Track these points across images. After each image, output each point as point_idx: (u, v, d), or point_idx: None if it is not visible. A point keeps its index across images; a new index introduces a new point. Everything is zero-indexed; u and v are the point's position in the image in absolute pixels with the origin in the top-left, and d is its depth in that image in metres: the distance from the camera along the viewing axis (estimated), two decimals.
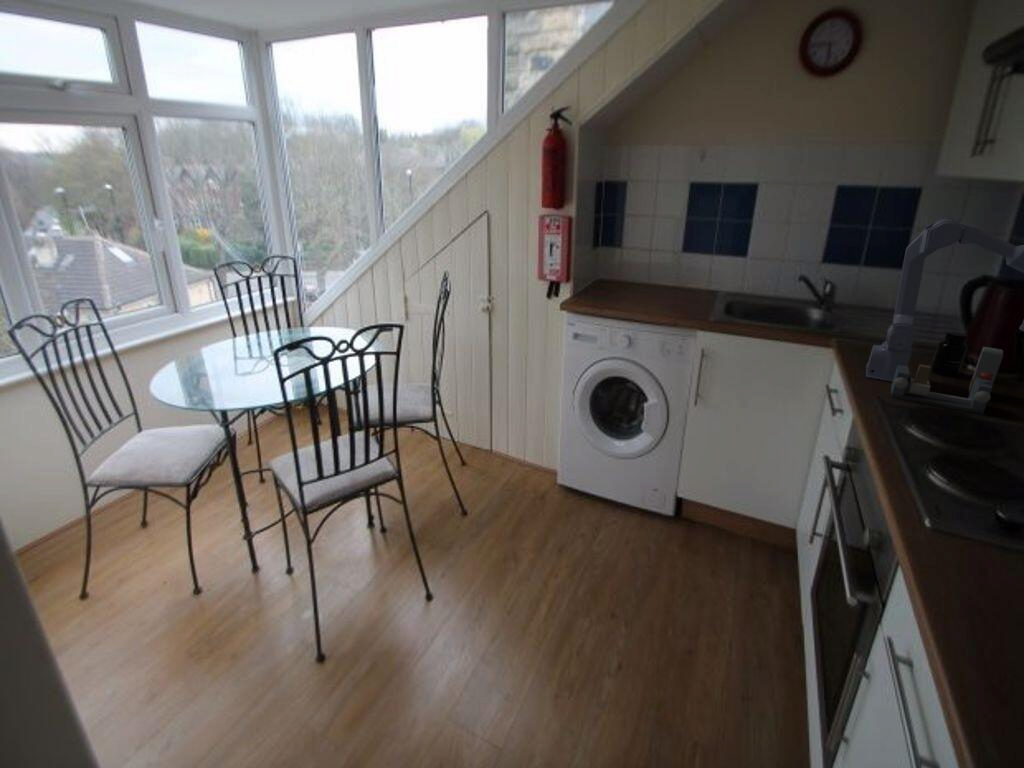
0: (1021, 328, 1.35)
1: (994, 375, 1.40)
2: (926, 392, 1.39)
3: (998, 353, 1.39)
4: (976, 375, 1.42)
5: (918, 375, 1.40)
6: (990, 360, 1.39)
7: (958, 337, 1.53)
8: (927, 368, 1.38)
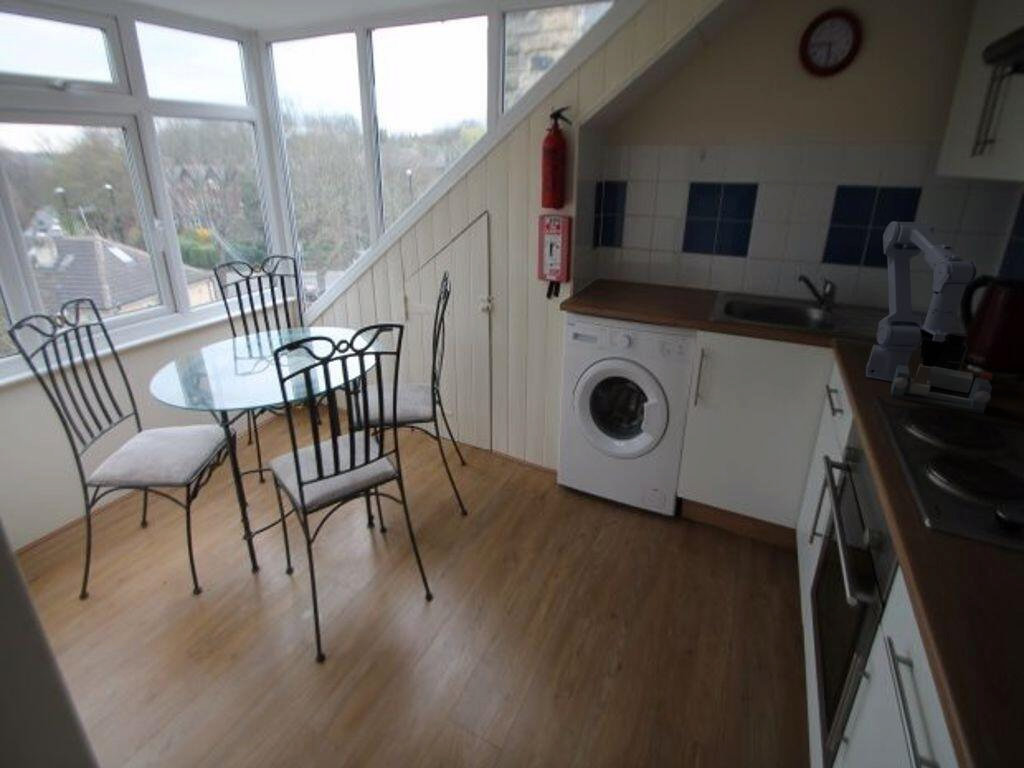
0: (923, 327, 1.36)
1: (943, 375, 1.47)
2: (926, 392, 1.39)
3: None
4: (943, 387, 1.47)
5: (918, 375, 1.40)
6: None
7: (958, 337, 1.53)
8: (927, 368, 1.38)
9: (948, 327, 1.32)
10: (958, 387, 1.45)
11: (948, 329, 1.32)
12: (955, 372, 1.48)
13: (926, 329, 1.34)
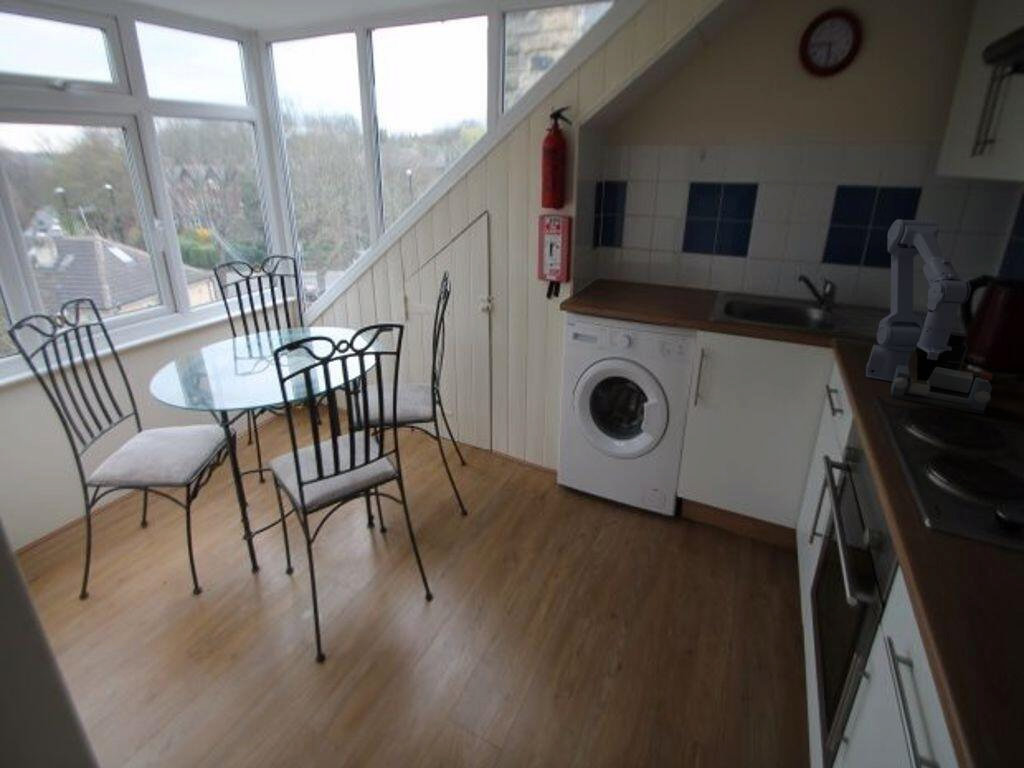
0: (918, 345, 1.38)
1: (943, 375, 1.47)
2: (926, 392, 1.39)
3: None
4: (943, 387, 1.47)
5: None
6: None
7: (958, 337, 1.53)
8: None
9: (942, 345, 1.34)
10: (958, 387, 1.45)
11: (942, 347, 1.34)
12: (955, 372, 1.48)
13: (920, 347, 1.36)
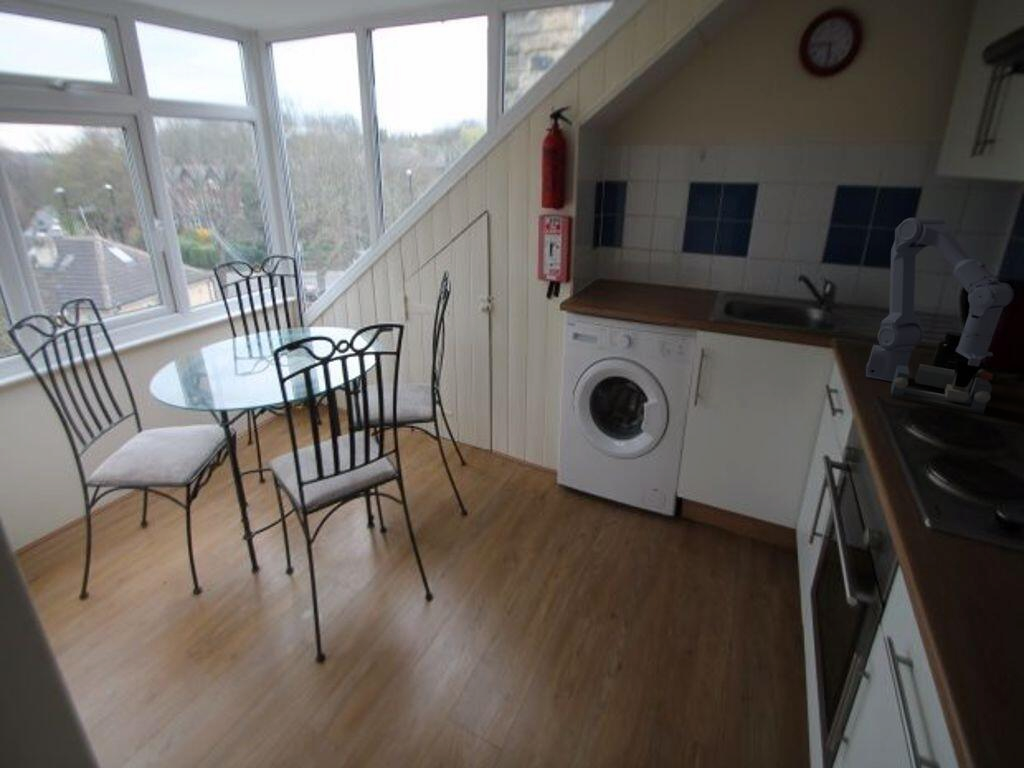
0: (957, 350, 1.34)
1: (943, 375, 1.47)
2: (964, 399, 1.35)
3: None
4: (943, 387, 1.47)
5: None
6: (924, 378, 1.49)
7: (958, 337, 1.53)
8: None
9: (983, 351, 1.30)
10: None
11: (983, 353, 1.30)
12: None
13: (960, 352, 1.32)
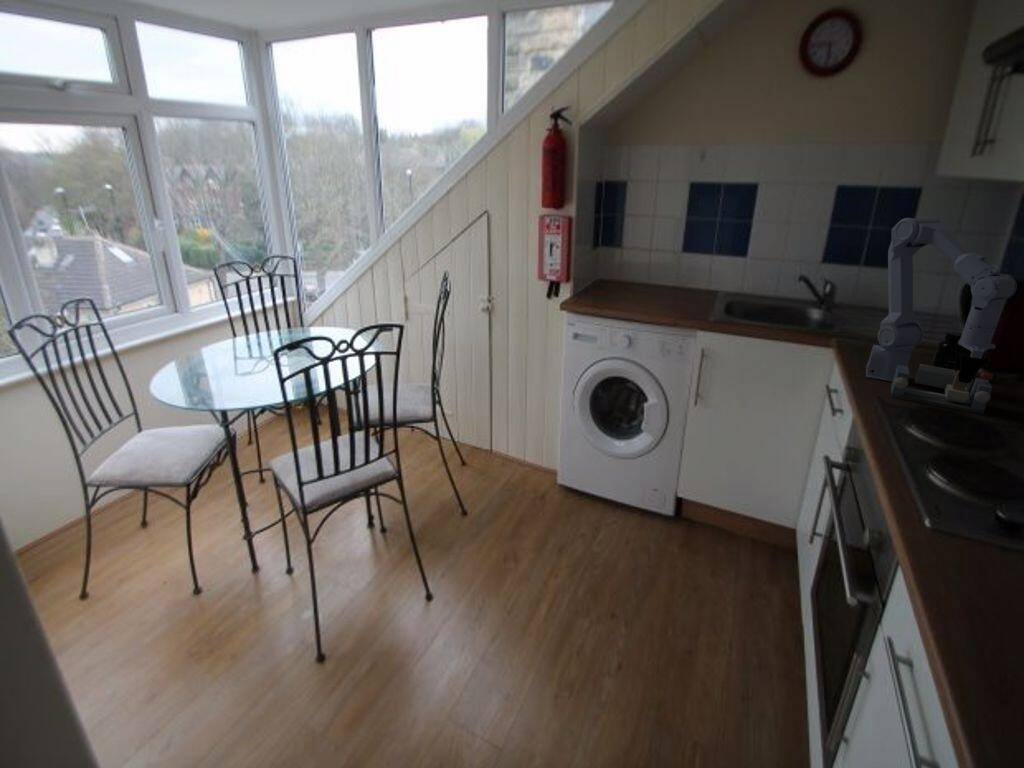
0: (959, 342, 1.33)
1: (943, 375, 1.47)
2: (964, 399, 1.35)
3: None
4: (943, 387, 1.47)
5: (956, 381, 1.36)
6: (924, 378, 1.49)
7: (958, 337, 1.53)
8: None
9: (986, 343, 1.29)
10: None
11: (986, 345, 1.29)
12: (955, 372, 1.48)
13: (963, 345, 1.32)
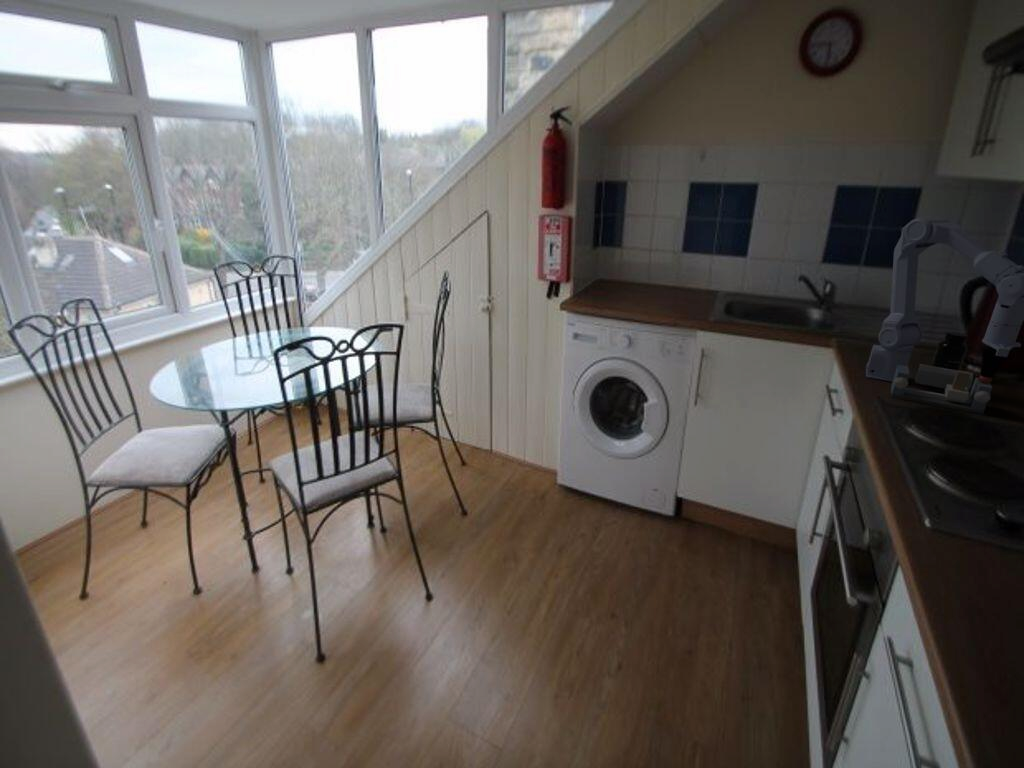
0: (983, 341, 1.30)
1: (943, 375, 1.47)
2: (964, 399, 1.35)
3: None
4: (943, 387, 1.47)
5: (956, 381, 1.36)
6: (924, 378, 1.49)
7: (958, 337, 1.53)
8: (966, 374, 1.34)
9: (1011, 341, 1.27)
10: None
11: (1011, 343, 1.27)
12: (955, 372, 1.48)
13: (987, 343, 1.29)
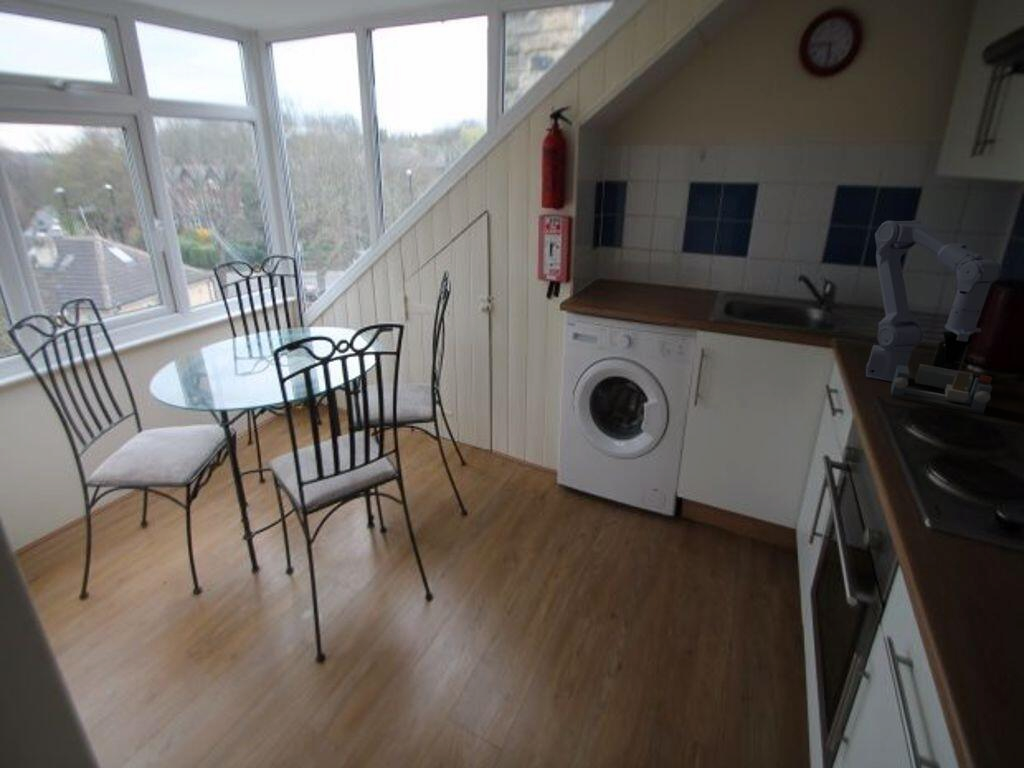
0: (946, 326, 1.35)
1: (943, 375, 1.47)
2: (964, 399, 1.35)
3: None
4: (943, 387, 1.47)
5: (956, 381, 1.36)
6: (924, 378, 1.49)
7: None
8: (966, 374, 1.34)
9: (972, 326, 1.31)
10: None
11: (972, 328, 1.31)
12: (955, 372, 1.48)
13: (949, 328, 1.33)
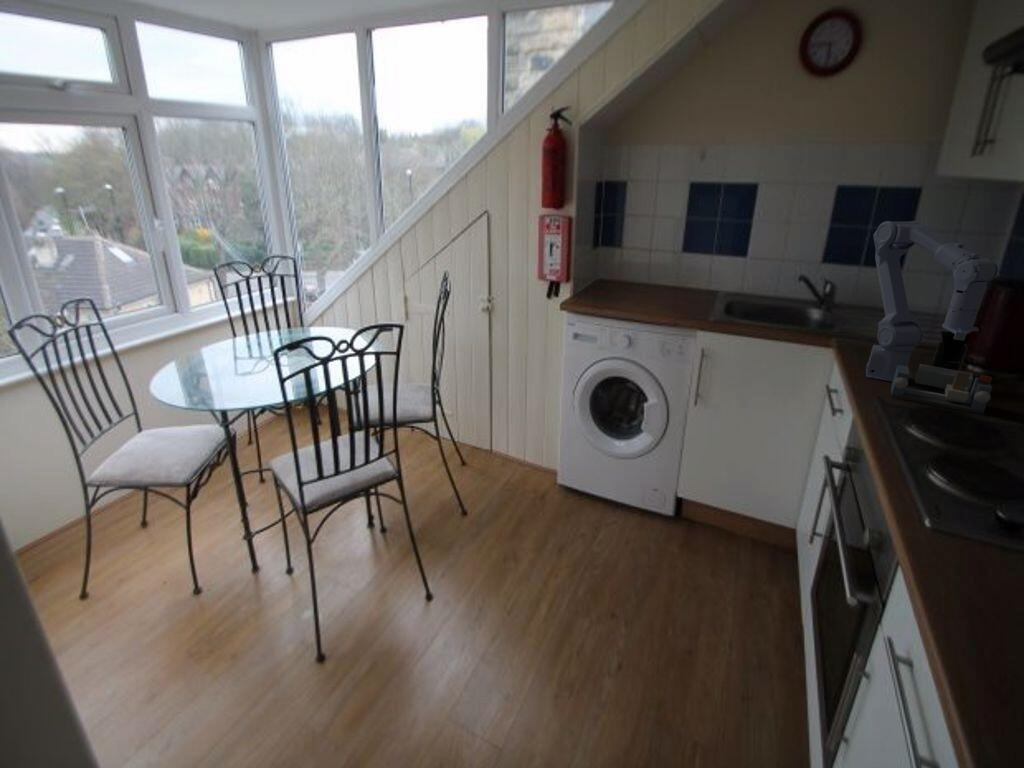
0: (943, 326, 1.35)
1: (943, 375, 1.47)
2: (964, 399, 1.35)
3: None
4: (943, 387, 1.47)
5: (956, 381, 1.36)
6: (924, 378, 1.49)
7: None
8: (966, 374, 1.34)
9: (969, 325, 1.31)
10: None
11: (969, 327, 1.32)
12: (955, 372, 1.48)
13: (946, 328, 1.34)
